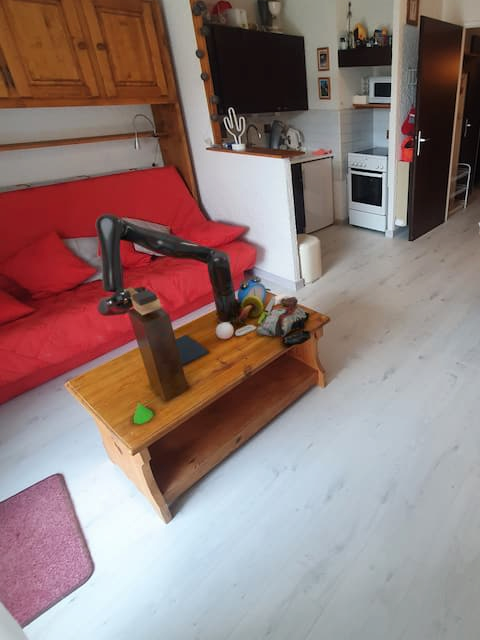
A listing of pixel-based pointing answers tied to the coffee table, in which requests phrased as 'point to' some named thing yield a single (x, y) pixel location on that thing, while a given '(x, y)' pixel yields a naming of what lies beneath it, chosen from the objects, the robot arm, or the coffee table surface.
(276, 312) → the stone
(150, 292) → the brush
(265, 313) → the kitchen knife
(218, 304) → the robot arm
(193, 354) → the mat
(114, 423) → the coffee table surface
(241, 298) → the alarm clock
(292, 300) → the stone
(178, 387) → the tall dark wooden block
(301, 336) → the toy car
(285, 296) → the toy vehicle
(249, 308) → the mushroom
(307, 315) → the athletic shoe
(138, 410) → the gemstone
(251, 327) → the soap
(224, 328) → the white egg
